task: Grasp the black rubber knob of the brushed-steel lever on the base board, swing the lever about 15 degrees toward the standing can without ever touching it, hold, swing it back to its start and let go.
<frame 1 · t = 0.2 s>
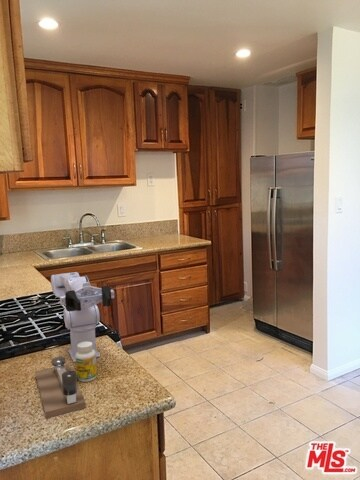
hand: (94, 304, 100), 22 cm above the worktop, tool horizontal, fingers open, 7 cm apart
lever: (63, 371, 100), point 5 cm above the worktop, hinge at 0.0°
supplement bottle: (87, 378, 107), on the worktop
base board: (58, 390, 100), on the worktop
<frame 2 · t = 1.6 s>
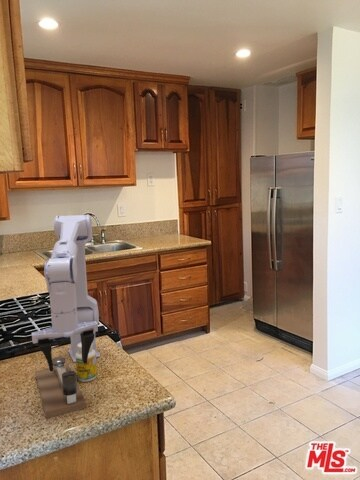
hand: (68, 365, 91), 10 cm above the worktop, tool pointing down, fingers open, 7 cm apart
nothing on the worktop moved.
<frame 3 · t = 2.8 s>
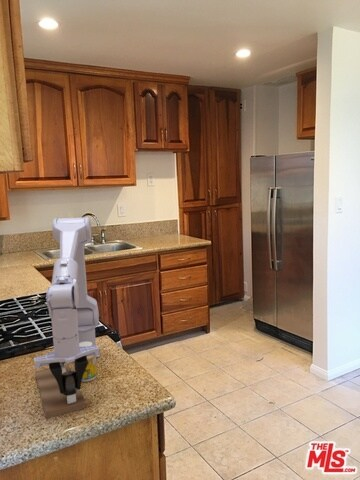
hand: (69, 389, 92), 4 cm above the worktop, tool pointing down, fingers closed on lever, 3 cm apart
lever: (63, 371, 100), point 5 cm above the worktop, hinge at 0.0°, touching gripper
everything else where it was.
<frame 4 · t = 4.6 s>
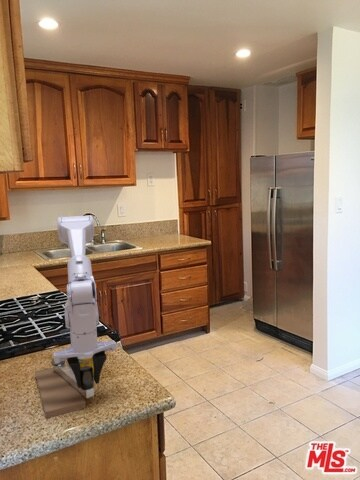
hand: (87, 383, 95), 4 cm above the worktop, tool pointing down, fingers open, 4 cm apart
lever: (71, 369, 101), point 5 cm above the worktop, hinge at 14.0°, touching gripper
everything else where it was.
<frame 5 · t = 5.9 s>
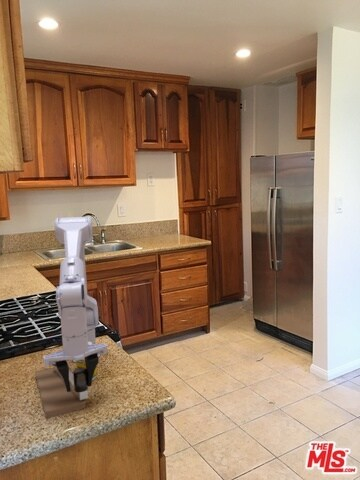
hand: (78, 387, 93), 4 cm above the worktop, tool pointing down, fingers open, 4 cm apart
lever: (68, 370, 101), point 5 cm above the worktop, hinge at 9.0°, touching gripper
everything else where it was.
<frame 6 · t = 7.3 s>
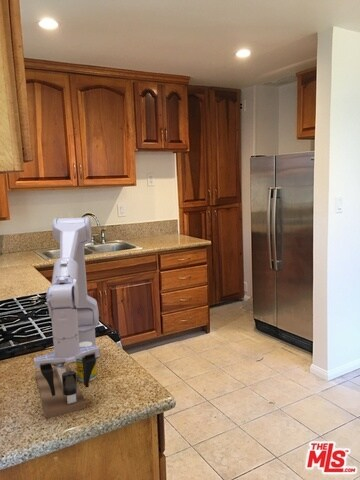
hand: (70, 389, 92), 4 cm above the worktop, tool pointing down, fingers open, 7 cm apart
lever: (63, 371, 100), point 5 cm above the worktop, hinge at 0.1°
everything else where it was.
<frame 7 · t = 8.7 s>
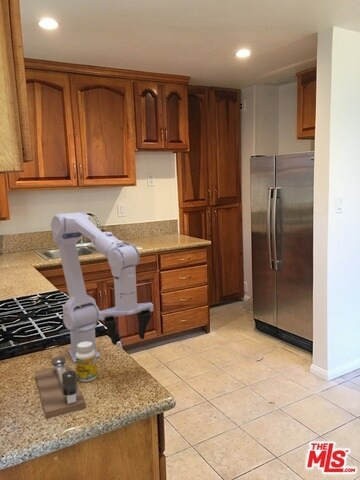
hand: (128, 340, 105), 10 cm above the worktop, tool pointing down, fingers open, 7 cm apart
nothing on the worktop moved.
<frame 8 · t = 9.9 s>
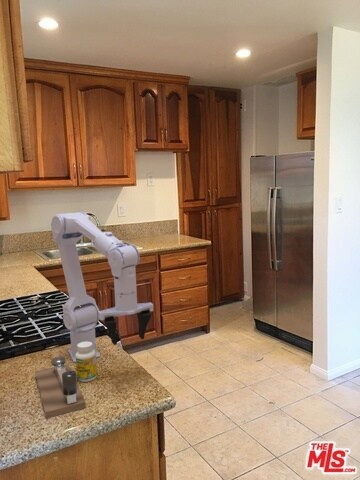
hand: (128, 340, 105), 10 cm above the worktop, tool pointing down, fingers open, 7 cm apart
nothing on the worktop moved.
at the end: lever at +0° (first picture: +0°); supplement bottle moved 0.2 cm from its start; the gripper is holding nothing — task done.
